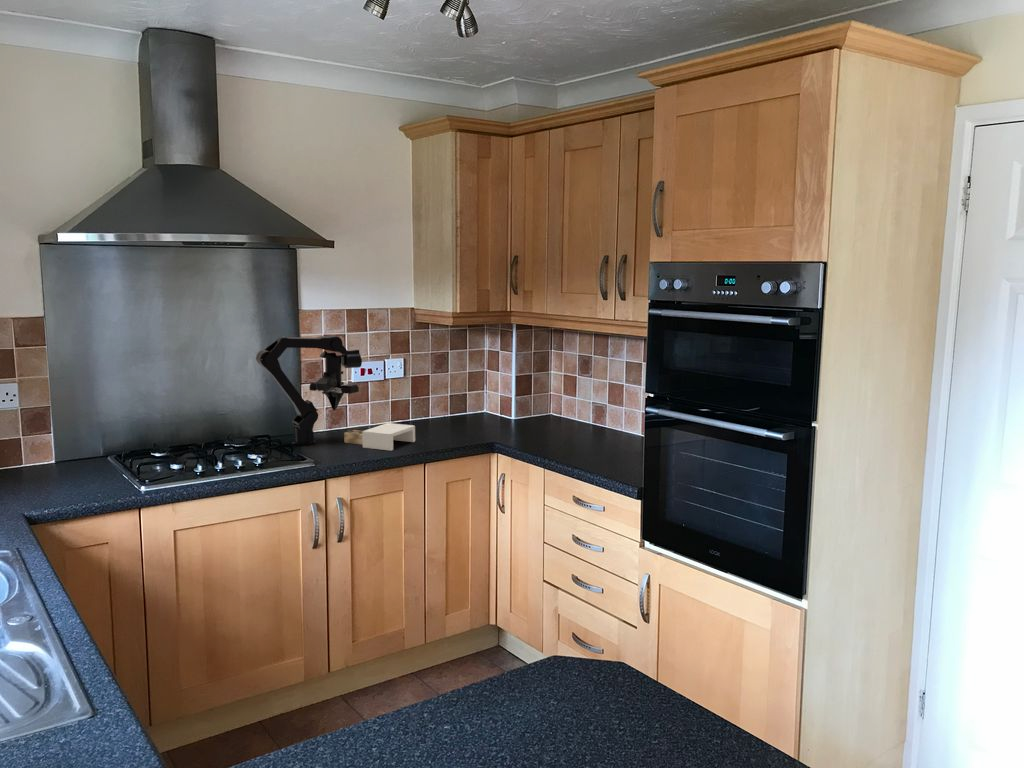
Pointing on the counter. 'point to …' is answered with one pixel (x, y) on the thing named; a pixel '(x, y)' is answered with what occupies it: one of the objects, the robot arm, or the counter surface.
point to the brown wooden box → (353, 437)
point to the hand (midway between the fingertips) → (334, 410)
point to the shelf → (387, 435)
